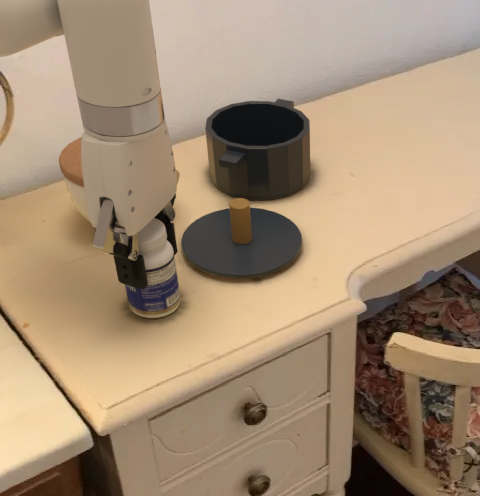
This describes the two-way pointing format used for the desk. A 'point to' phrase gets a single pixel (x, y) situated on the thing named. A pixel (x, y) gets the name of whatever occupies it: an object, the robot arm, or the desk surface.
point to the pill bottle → (155, 274)
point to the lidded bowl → (74, 175)
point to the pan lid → (241, 241)
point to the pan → (259, 149)
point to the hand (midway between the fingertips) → (148, 266)
